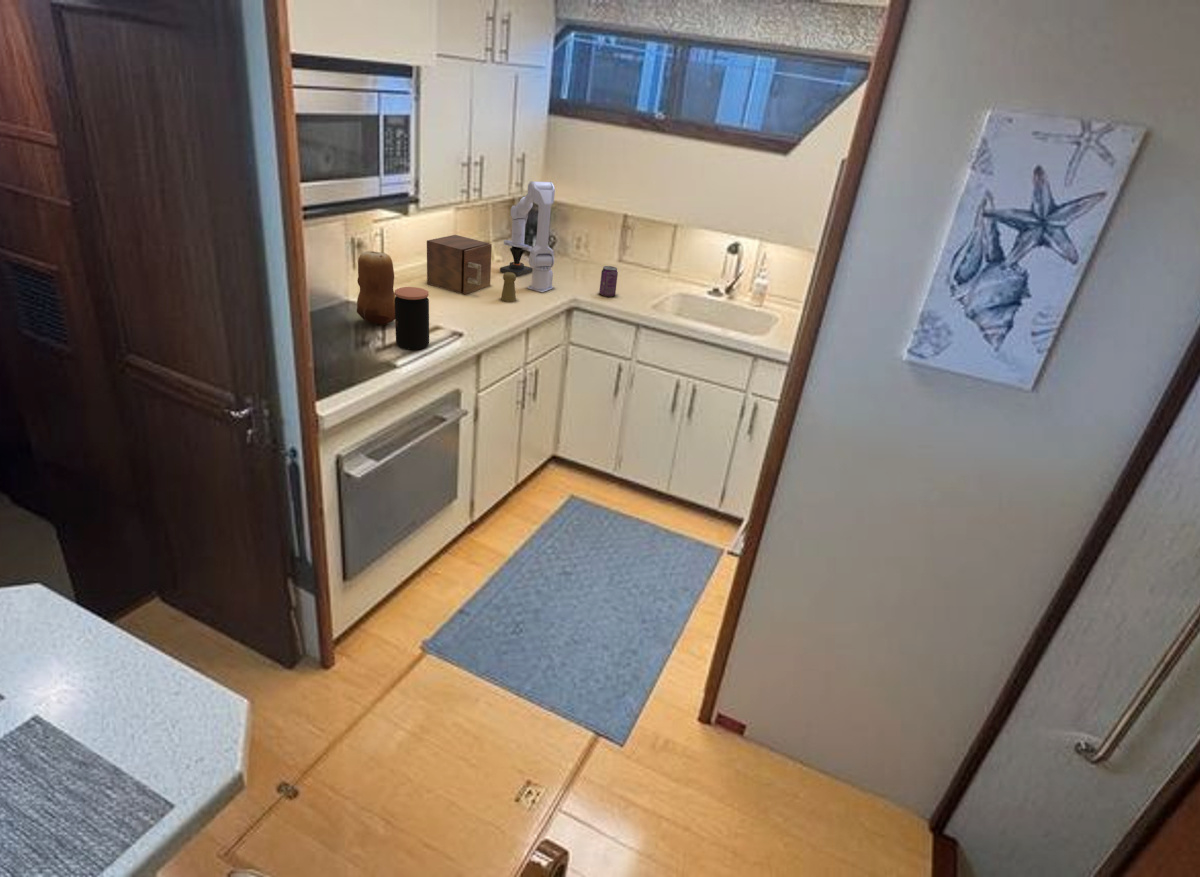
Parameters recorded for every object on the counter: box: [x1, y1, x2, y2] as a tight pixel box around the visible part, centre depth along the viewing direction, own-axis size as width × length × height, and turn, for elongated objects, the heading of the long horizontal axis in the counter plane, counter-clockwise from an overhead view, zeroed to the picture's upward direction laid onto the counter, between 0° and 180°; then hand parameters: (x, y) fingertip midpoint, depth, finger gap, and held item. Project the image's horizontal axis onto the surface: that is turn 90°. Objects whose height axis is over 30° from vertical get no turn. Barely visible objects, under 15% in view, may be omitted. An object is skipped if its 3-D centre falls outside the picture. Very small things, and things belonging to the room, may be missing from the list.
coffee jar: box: [394, 286, 430, 351], centre depth 224 cm, size 11×11×18 cm
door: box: [462, 243, 493, 295], centre depth 284 cm, size 7×18×18 cm, turn 154°
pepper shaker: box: [500, 272, 517, 303], centre depth 279 cm, size 6×6×11 cm
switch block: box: [499, 261, 532, 278], centre depth 319 cm, size 12×10×4 cm
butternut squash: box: [356, 250, 396, 326], centre depth 236 cm, size 14×13×25 cm
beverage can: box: [598, 265, 619, 297], centre depth 300 cm, size 7×7×12 cm
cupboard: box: [426, 234, 490, 294], centre depth 288 cm, size 18×18×18 cm
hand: (516, 263), depth 318 cm, fingers closed, pressing on button
